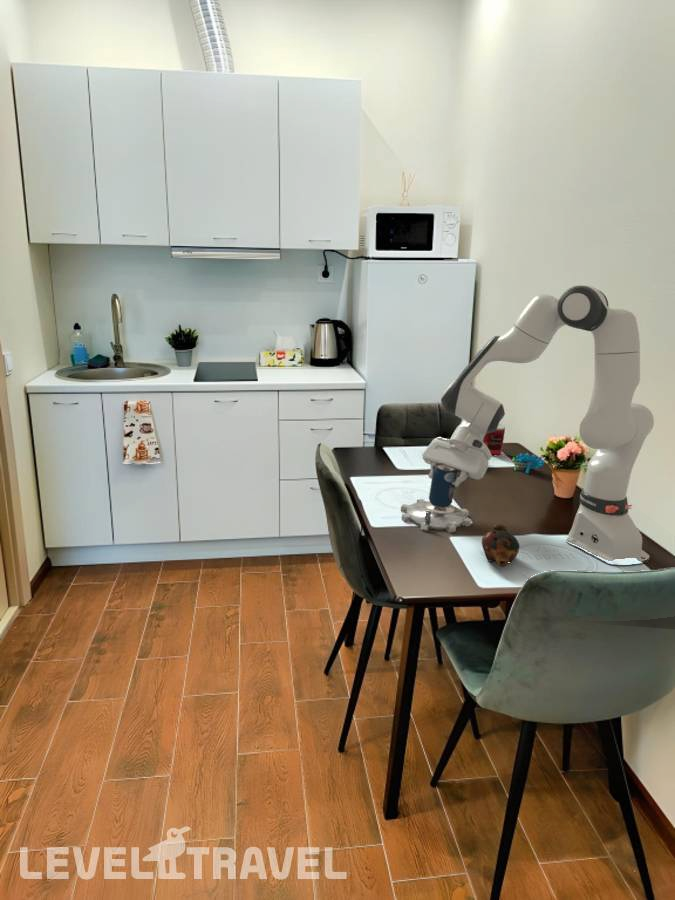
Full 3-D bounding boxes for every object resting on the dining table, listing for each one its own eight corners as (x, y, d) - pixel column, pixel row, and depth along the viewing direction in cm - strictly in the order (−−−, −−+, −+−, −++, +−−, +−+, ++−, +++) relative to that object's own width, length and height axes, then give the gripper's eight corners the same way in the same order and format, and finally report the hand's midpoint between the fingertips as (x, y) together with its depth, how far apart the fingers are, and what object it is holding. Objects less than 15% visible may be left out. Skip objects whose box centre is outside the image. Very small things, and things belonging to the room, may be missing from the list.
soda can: (453, 509, 201) (459, 472, 197) (429, 507, 200) (435, 470, 196) (449, 500, 207) (455, 463, 203) (426, 498, 207) (432, 461, 203)
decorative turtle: (510, 547, 184) (516, 521, 181) (521, 577, 170) (528, 550, 167) (474, 542, 184) (480, 516, 181) (483, 573, 170) (489, 545, 167)
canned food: (489, 448, 269) (492, 421, 266) (505, 454, 263) (509, 426, 260) (476, 451, 264) (480, 424, 261) (493, 457, 259) (497, 429, 255)
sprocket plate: (484, 529, 195) (486, 514, 193) (418, 535, 188) (420, 520, 186) (449, 501, 213) (451, 487, 212) (388, 506, 206) (389, 492, 205)
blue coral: (546, 466, 246) (541, 452, 239) (543, 481, 244) (538, 467, 236) (516, 464, 252) (510, 450, 244) (512, 478, 249) (507, 464, 242)
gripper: (432, 429, 209) (410, 466, 205) (490, 446, 196) (468, 485, 192) (439, 441, 214) (417, 477, 210) (496, 457, 201) (475, 496, 197)
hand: (442, 481), depth 201 cm, fingers closed on soda can, 7 cm apart
